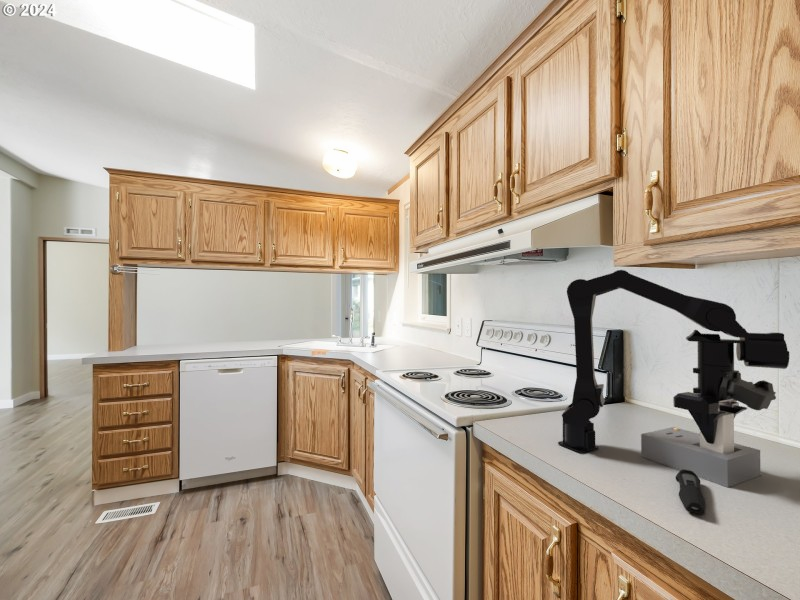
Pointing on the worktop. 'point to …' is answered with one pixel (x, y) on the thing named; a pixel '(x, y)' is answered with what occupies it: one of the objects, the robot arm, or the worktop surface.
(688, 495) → the electric trimmer
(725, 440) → the block
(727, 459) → the block
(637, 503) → the worktop surface
